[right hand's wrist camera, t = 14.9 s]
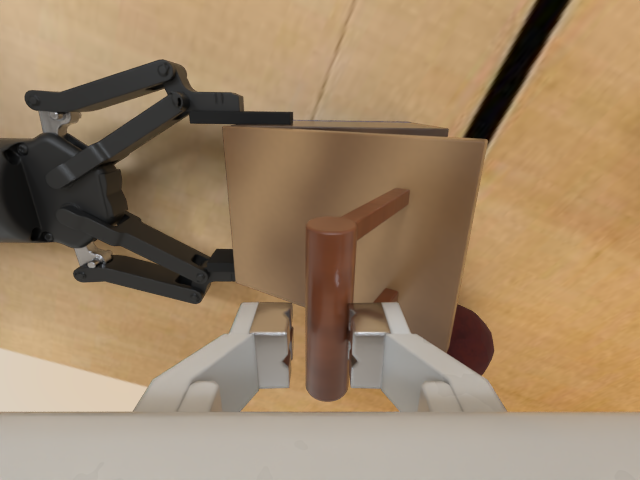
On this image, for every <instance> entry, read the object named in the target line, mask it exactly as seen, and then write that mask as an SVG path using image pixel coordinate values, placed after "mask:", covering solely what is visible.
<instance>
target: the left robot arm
mask: <svg viewBox="0 0 640 480" xmlns="http://www.w3.org/2000/svg"><path fill="white" fill-rule="evenodd" d="M162 89H165V90H166V92H167V94H168V96H166V97H165V98H163V99H162V100H160V101H159V102H157V103H156V104H154V105H153V106H151V107H150V108H148V109H147V110H145V111H144V112H142V113H141V114H139V115H138V116H136V117H135V118H133V119H132V120H130V121H129V122H127V123H126V124H124V125H123V126H121V127H120V128H118V129H117V130H115V131H114V132H113V133H111V134H110V135H108V136H107V137H105V138H104V139H102V140H101V141H99V142H97V143H95V144H92V145H90V146H87V145H86V144H84V143H83V142H81V141H79V140H78V139H76V138H75V137H73V136H72V135H70V134H68V133H67V127H68V126H69V125H71V124H75V123H77V122H78V121H79V119H80V118H81V113H80V112H89V111H95V110H99V109H102V108H105V107H108V106H112V105H115V104H118V103H121V102H124V101H127V100H130V99H134V98H137V97H140V96H143V95H146V94H149V93H152V92H156V91H159V90H162ZM25 101H26V104H27V105H28V106H29V107H30V108H31V109H33V110H36V111H39V115H40V120H41V125H42V130H43V133H42V134H40V135H38V136H37V137H35V138H33V139H13V138H0V242H2V243H45V242H57V243H61V244H64V245H66V246H68V247H71V248H74V250H75V253H76V256H77V259H78V261H79V264H80V267H79V268H77V269H76V270H75V271H74V273H73V275H74V277H75V279H76V280H77V281H80V282H102V281H106V282H109V283H113V284H117V285H121V286H125V287H129V288H133V289H137V290H141V291H145V292H149V293H153V294H157V295H161V296H165V297H169V298H173V299H177V300H181V301H185V302H189V303H193V304H198V303H200V302H201V301H202V299H203V297H204V296H205V294H206V292H207V291H208V289H209V287H210V285H211V282H213V281H236V280H235V268H234V257H233V249H216V250H215V252H214V253H213V255H212V256H211V257H209V256H207V255H205V254H203V253H201V252H199V251H197V250H195V249H193V248H191V247H189V246H187V245H185V244H183V243H181V242H179V241H177V240H175V239H173V238H171V237H170V236H168V235H166V234H164V233H162V232H160V231H158V230H156V229H154V228H152V227H150V226H148V225H146V224H144V223H142V221H141V219H140V218H139V217H137V216H135V215H133V214H131V213H129V212H127V211H126V210H128V207H127V202H126V198H125V196H124V194H123V192H122V190H121V188H122V176H121V171H120V169H116V167H115V166H114V164H116V163H117V162H119V161H120V160H122V159H124V158H125V157H127V156H128V155H129V153H131V152H132V151H134V150H135V149H137V148H138V147H140V146H141V145H143V144H145V143H146V142H148V141H149V140H151V139H152V138H154V137H155V136H157V135H158V134H160V133H162V132H163V131H165V130H166V129H168V128H169V127H171V126H172V125H174V124H175V123H177V122H178V121H180V120H182V119H183V118H185V117H186V116H188V115H189V118H190V123H194V124H289V125H290V124H292V123H293V112H254V111H244V103H243V96H240V95H238V94H236V93H230V92H197V91H195V90H194V89H193V88H192V87H191V86H190V84H189V82H188V79H187V73H186V70H185V68H184V67H183V66H181V65H179V64H176V63H173V62H170V61H166V60H157V61H154V62H151V63H148V64H145V65H142V66H139V67H136V68H133V69H130V70H126V71H123V72H120V73H117V74H114V75H111V76H108V77H105V78H102V79H99V80H96V81H93V82H90V83H87V84H84V85H81V86H78V87H75V88H72V89H68V90H65V91H62V92H53V91H36V90H30V91H28V92H26V94H25ZM116 224H117V226H115V225H116ZM97 239H99V240H101V241H103V242H105V243H107V244H109V245H112V246H122V247H124V248H126V249H128V250H130V251H132V252H134V253H136V254H139V255H141V256H143V257H145V258H147V259H149V260H151V261H153V262H155V263H157V264H154V263H150V262H147V261H143V260H139V259H135V258H131V257H127V256H122V255H113V253H112V251H110V250H101V249H99V248H97V247H96V246H95V245H94V241H95V240H97ZM158 264H159V265H158Z"/></svg>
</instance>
